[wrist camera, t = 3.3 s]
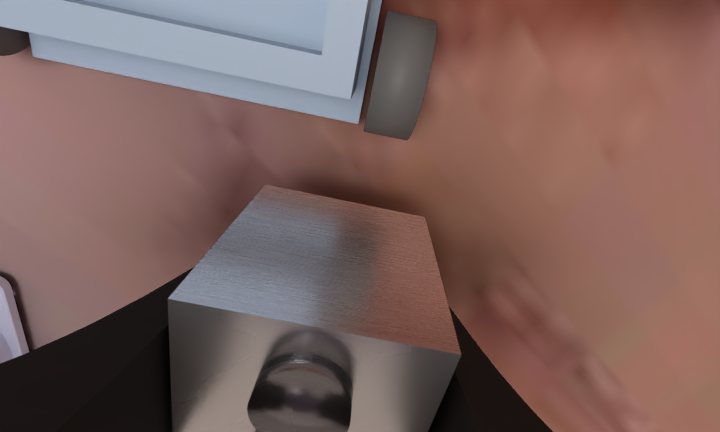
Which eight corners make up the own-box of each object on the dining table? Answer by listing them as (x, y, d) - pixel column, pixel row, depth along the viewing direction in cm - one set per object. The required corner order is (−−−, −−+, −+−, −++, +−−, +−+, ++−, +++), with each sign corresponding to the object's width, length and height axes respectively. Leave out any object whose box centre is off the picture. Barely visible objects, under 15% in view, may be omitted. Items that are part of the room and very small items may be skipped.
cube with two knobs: (388, 337, 12) (393, 543, 7) (253, 311, 12) (160, 503, 7) (424, 217, 10) (469, 382, 5) (265, 184, 10) (147, 322, 5)
